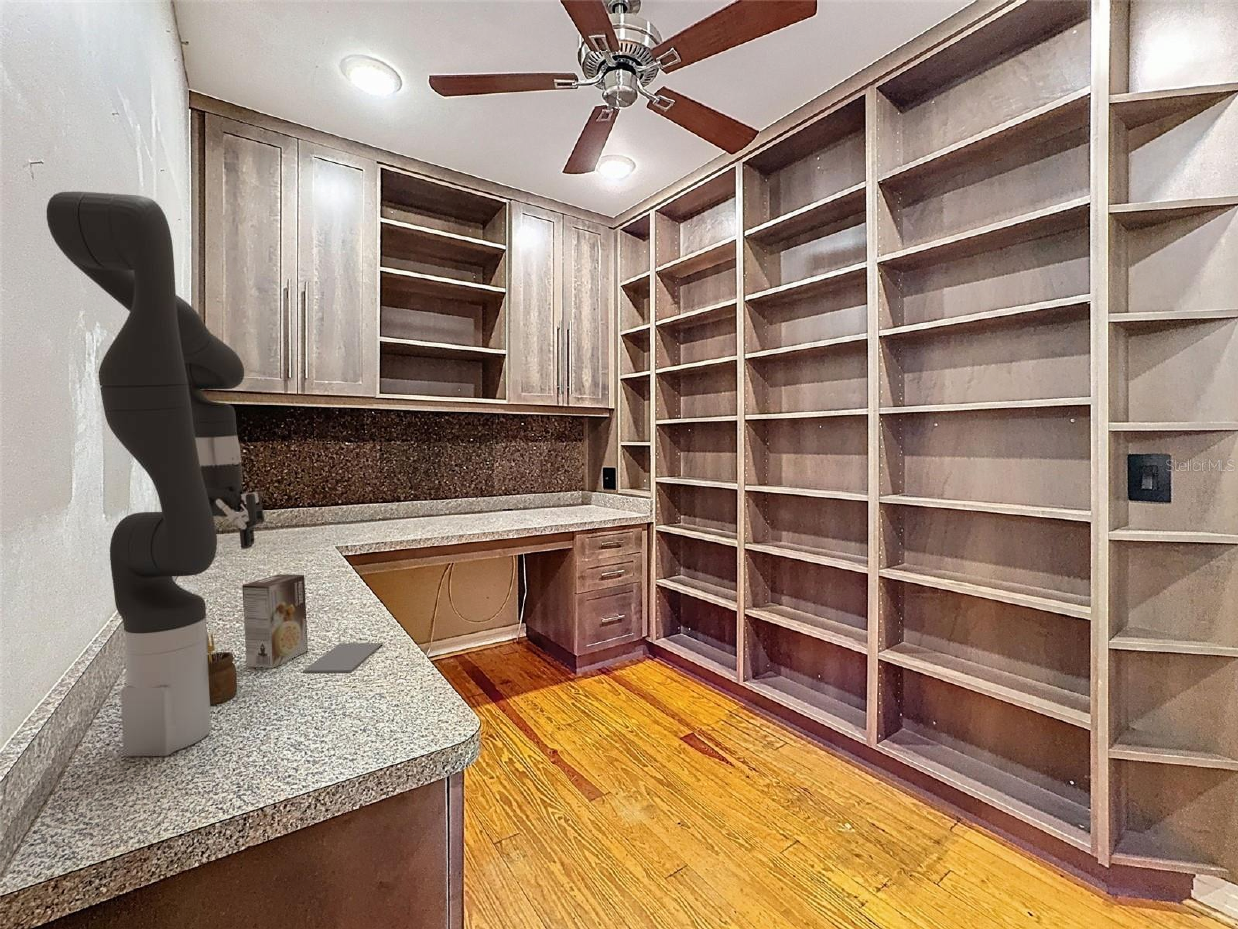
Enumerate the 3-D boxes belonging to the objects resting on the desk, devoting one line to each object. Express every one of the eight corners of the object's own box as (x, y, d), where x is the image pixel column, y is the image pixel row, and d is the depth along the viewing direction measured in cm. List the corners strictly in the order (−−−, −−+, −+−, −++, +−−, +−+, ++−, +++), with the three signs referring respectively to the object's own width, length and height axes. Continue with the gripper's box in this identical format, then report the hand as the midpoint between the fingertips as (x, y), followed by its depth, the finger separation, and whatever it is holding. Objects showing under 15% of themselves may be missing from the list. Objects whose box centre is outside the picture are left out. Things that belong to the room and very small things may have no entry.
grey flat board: (351, 672, 104) (350, 670, 104) (302, 673, 104) (302, 670, 104) (382, 645, 118) (382, 642, 118) (340, 645, 118) (340, 643, 118)
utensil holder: (241, 687, 98) (238, 620, 98) (231, 703, 92) (228, 632, 92) (201, 693, 96) (198, 625, 96) (188, 710, 90) (184, 637, 90)
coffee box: (282, 649, 116) (279, 573, 116) (308, 651, 115) (306, 574, 114) (244, 667, 107) (241, 584, 107) (272, 669, 106) (269, 585, 105)
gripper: (160, 463, 98) (169, 553, 100) (240, 463, 98) (248, 553, 100) (193, 458, 105) (201, 542, 108) (268, 458, 105) (275, 542, 107)
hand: (224, 547), depth 104 cm, fingers open, 8 cm apart
